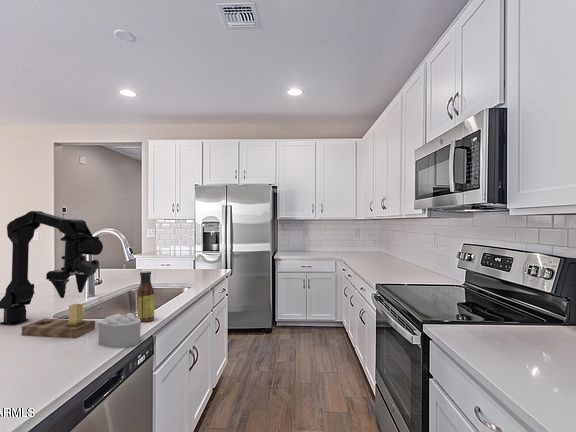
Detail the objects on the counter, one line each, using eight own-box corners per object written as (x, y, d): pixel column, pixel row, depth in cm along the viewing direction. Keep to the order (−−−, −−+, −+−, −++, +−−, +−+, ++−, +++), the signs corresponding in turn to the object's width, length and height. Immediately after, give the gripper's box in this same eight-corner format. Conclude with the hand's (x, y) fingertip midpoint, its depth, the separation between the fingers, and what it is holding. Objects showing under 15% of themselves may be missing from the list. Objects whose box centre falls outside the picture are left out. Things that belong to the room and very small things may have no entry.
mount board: (21, 335, 119) (21, 326, 119) (44, 326, 129) (44, 318, 129) (75, 338, 117) (76, 329, 117) (94, 328, 127) (94, 320, 127)
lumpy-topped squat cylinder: (118, 334, 122) (119, 310, 122) (148, 339, 117) (148, 314, 117) (93, 344, 112) (94, 317, 112) (124, 350, 107) (125, 322, 108)
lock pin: (68, 334, 121) (68, 305, 121) (74, 331, 124) (74, 303, 124) (76, 334, 121) (77, 306, 121) (81, 331, 124) (82, 304, 124)
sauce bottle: (157, 318, 142) (158, 270, 142) (149, 323, 135) (150, 273, 136) (142, 317, 142) (143, 270, 142) (133, 322, 136) (135, 272, 136)
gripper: (75, 257, 117) (73, 302, 117) (109, 252, 135) (107, 291, 135) (45, 255, 118) (43, 300, 118) (83, 250, 137) (81, 289, 136)
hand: (71, 295), depth 127 cm, fingers open, 9 cm apart
